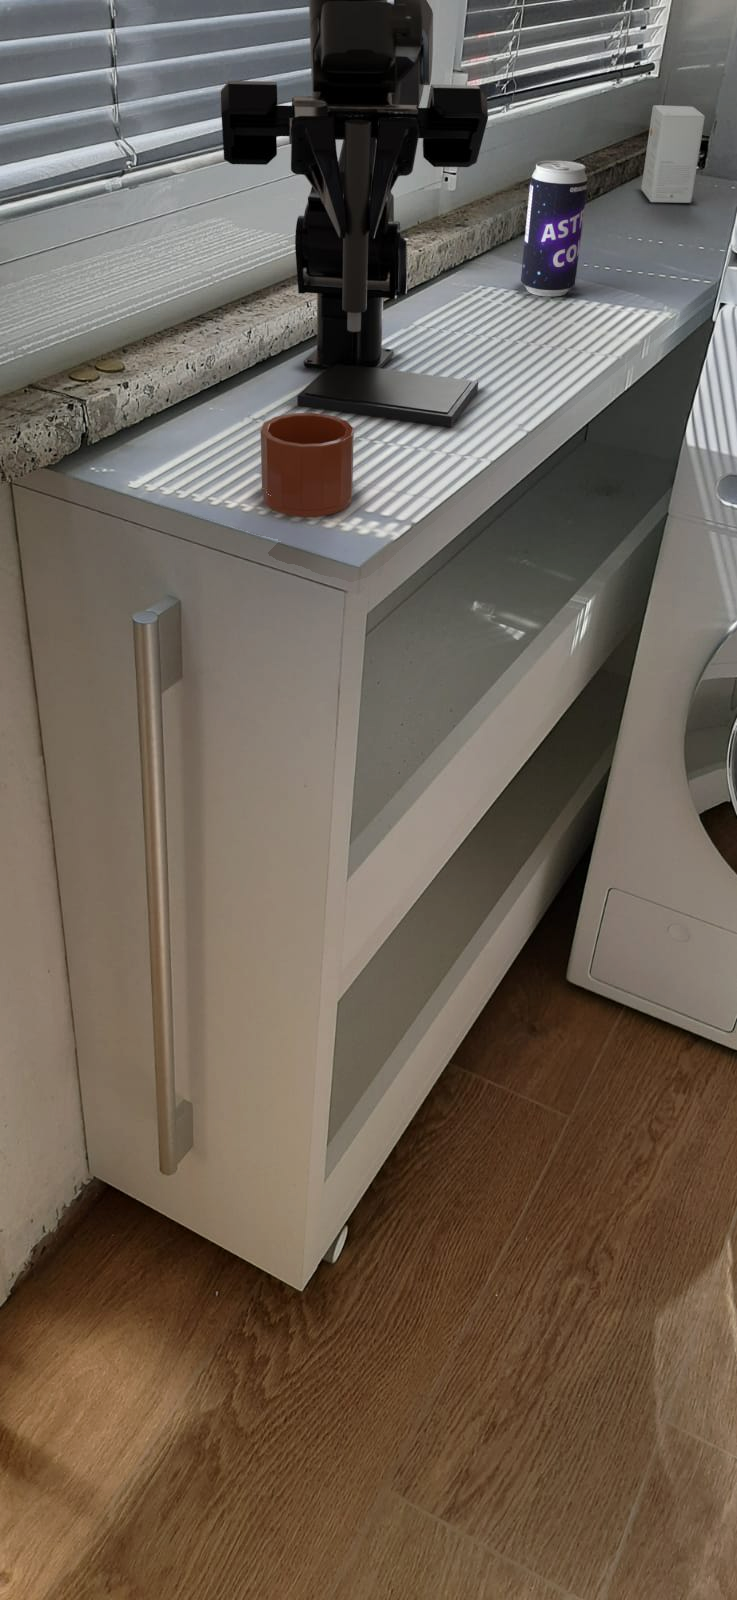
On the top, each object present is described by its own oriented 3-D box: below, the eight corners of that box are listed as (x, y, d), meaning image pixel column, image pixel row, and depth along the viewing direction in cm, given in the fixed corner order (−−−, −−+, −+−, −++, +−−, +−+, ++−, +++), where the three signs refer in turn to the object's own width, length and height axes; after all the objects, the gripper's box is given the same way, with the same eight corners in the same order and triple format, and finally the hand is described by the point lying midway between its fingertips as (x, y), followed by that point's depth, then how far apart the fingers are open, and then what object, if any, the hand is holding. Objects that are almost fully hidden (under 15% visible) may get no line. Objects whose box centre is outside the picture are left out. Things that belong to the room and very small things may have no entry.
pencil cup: (280, 475, 91) (279, 407, 88) (363, 488, 90) (365, 420, 87) (248, 509, 87) (246, 438, 84) (336, 523, 85) (336, 451, 82)
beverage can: (531, 300, 129) (544, 171, 122) (512, 284, 134) (523, 160, 126) (582, 297, 131) (598, 170, 123) (561, 282, 135) (575, 159, 128)
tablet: (332, 372, 110) (333, 360, 109) (477, 391, 107) (478, 380, 106) (297, 405, 103) (297, 393, 102) (451, 427, 100) (451, 415, 99)
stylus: (344, 325, 95) (347, 118, 87) (367, 327, 95) (372, 120, 87) (340, 332, 94) (343, 123, 85) (364, 334, 94) (369, 125, 85)
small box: (691, 204, 168) (706, 115, 161) (649, 203, 168) (662, 114, 161) (680, 191, 174) (694, 105, 168) (640, 190, 174) (652, 104, 168)
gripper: (215, -59, 82) (220, 162, 81) (496, -52, 84) (508, 166, 82) (221, 60, 93) (226, 258, 92) (470, 65, 95) (480, 259, 93)
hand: (357, 235), depth 89 cm, fingers closed on stylus, 2 cm apart
